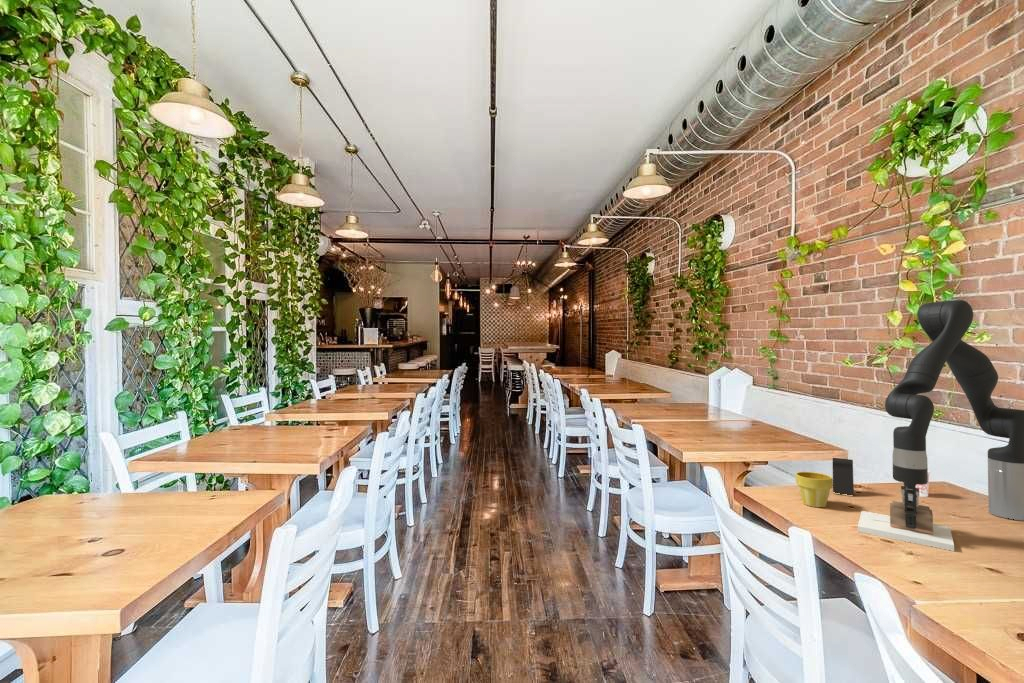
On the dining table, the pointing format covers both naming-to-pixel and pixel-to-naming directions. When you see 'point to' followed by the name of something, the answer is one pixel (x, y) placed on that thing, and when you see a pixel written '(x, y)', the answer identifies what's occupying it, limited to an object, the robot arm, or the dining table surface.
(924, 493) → the beverage cup
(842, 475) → the phone stand
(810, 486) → the plant pot
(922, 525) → the block
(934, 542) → the board
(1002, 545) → the dining table surface
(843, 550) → the dining table surface
